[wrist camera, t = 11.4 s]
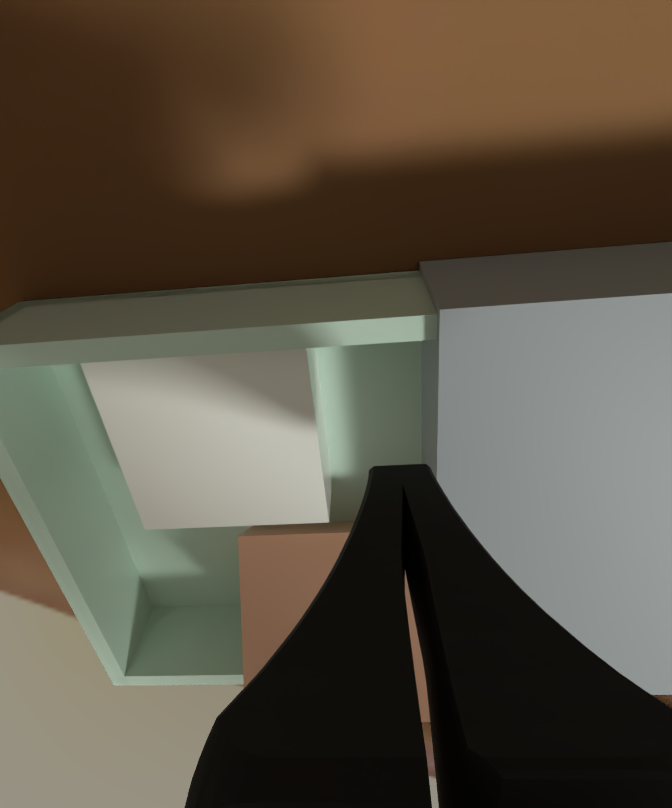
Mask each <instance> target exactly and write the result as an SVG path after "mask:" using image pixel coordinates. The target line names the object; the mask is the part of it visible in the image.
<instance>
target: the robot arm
mask: <svg viewBox="0 0 672 808" xmlns="http://www.w3.org/2000/svg"><path fill="white" fill-rule="evenodd" d="M405 572H406V577H407V583H408V588H409V593H410V598H411V603H412V608H413V614H414V619H415V624H416V629H417V634H418V639H419V644H420V649H421V654H422V659H423V666H424V672H425V678H426V686H427V696H428V705H429V714H430V724H431V733H432V743H433V753H434V762H435V772H436V782H437V792H438V802H439V808H672V709H671V708H669V707H668V706H666V705H665V704H664V703H662V702H661V701H659V700H658V699H656V698H655V697H653V696H652V695H651V694H649V693H648V692H646V691H645V690H643V689H642V688H641V687H639V686H638V685H636V684H635V683H633V682H632V681H630V680H629V679H628V678H626V677H625V676H623V675H622V674H620V673H619V672H618V671H616V670H615V669H614V668H613V667H611V666H610V665H609V664H607V663H606V662H605V661H604V660H602V659H601V658H600V657H598V656H597V655H596V654H595V653H593V652H592V651H591V650H589V649H588V648H587V647H586V646H585V645H583V644H582V643H581V642H580V641H579V640H578V639H576V638H575V637H574V636H573V635H572V634H571V633H569V632H568V631H567V630H566V629H565V628H564V627H563V626H561V625H560V624H559V623H558V622H557V621H556V620H554V619H553V618H552V617H551V616H550V615H549V614H547V613H546V612H545V611H544V610H543V609H542V608H541V607H540V606H539V605H538V604H537V603H536V602H535V601H534V600H533V599H532V598H530V597H529V596H528V595H527V594H526V593H525V592H524V591H523V590H522V589H521V588H520V587H519V586H518V585H517V584H516V583H515V582H514V580H513V579H512V578H511V577H510V576H509V575H508V574H507V573H506V572H505V571H504V570H503V569H502V568H501V567H500V566H499V564H498V563H497V562H496V561H495V560H494V559H493V558H492V556H491V555H490V554H489V553H488V552H487V550H486V549H485V548H484V547H483V546H482V544H481V543H480V542H479V541H478V539H477V538H476V537H475V536H474V534H473V533H472V532H471V531H470V529H469V528H468V526H467V525H466V524H465V522H464V521H463V520H462V518H461V517H460V515H459V514H458V513H457V511H456V510H455V508H454V507H453V506H452V504H451V503H450V501H449V499H448V498H447V496H446V495H445V493H444V492H443V490H442V488H441V487H440V485H439V483H438V481H437V480H436V478H435V476H434V474H433V472H432V470H431V468H430V467H429V466H428V465H427V464H407V465H386V466H373V467H372V468H371V469H370V470H369V476H368V481H367V486H366V490H365V493H364V497H363V500H362V503H361V506H360V509H359V511H358V514H357V516H356V519H355V521H354V524H353V527H352V529H351V531H350V534H349V536H348V538H347V540H346V542H345V544H344V546H343V548H342V550H341V552H340V555H339V557H338V559H337V561H336V562H335V564H334V566H333V568H332V570H331V572H330V573H329V575H328V577H327V579H326V580H325V582H324V584H323V585H322V587H321V589H320V590H319V592H318V594H317V595H316V597H315V598H314V600H313V601H312V603H311V604H310V606H309V607H308V609H307V610H306V612H305V613H304V615H303V616H302V618H301V619H300V620H299V622H298V623H297V625H296V626H295V627H294V629H293V630H292V631H291V633H290V634H289V635H288V637H287V638H286V639H285V640H284V642H283V643H282V644H281V645H280V647H279V648H278V649H277V650H276V652H275V653H274V654H273V655H272V657H271V658H270V659H269V660H268V662H267V663H266V664H265V665H264V667H263V668H262V669H261V670H260V671H259V672H258V674H257V675H256V676H255V677H254V678H253V679H252V680H251V681H250V682H249V684H248V685H247V686H246V687H245V688H244V689H243V690H242V691H241V692H240V693H239V694H238V695H237V696H236V698H235V699H234V700H233V701H232V702H231V703H230V704H229V705H228V706H227V707H226V708H225V709H224V710H223V712H222V713H221V714H220V715H219V716H218V717H217V718H216V721H215V723H214V725H213V727H212V729H211V732H210V734H209V736H208V738H207V741H206V743H205V745H204V748H203V751H202V753H201V756H200V758H199V761H198V764H197V767H196V770H195V772H194V775H193V778H192V781H191V785H190V788H189V792H188V797H187V801H186V805H185V808H432V804H431V795H430V785H429V776H428V767H427V757H426V750H425V743H424V737H423V730H422V722H421V715H420V708H419V700H418V693H417V686H416V679H415V671H414V663H413V655H412V647H411V639H410V631H409V623H408V615H407V606H406V598H405Z"/></svg>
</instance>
